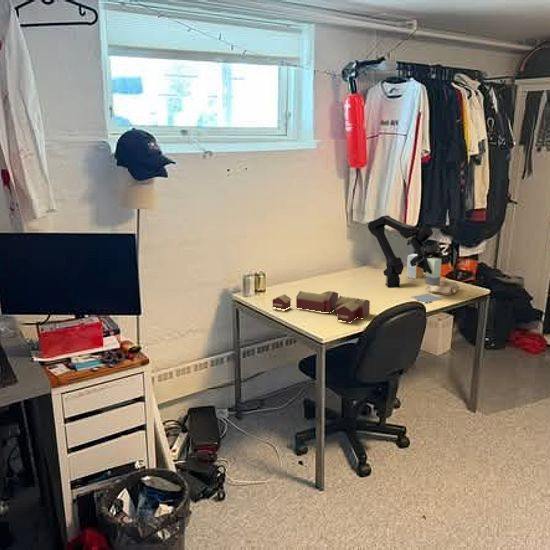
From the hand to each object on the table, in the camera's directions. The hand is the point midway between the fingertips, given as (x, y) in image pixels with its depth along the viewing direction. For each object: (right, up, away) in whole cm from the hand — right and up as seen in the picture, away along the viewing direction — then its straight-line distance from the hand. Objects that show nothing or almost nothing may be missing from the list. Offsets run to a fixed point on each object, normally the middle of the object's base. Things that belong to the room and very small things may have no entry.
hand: (435, 272), depth 268 cm
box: (-1, -6, +3) cm, 6 cm away
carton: (+8, -10, +13) cm, 18 cm away
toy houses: (-59, -19, -12) cm, 63 cm away
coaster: (-4, -13, +3) cm, 14 cm away
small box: (+1, -3, +44) cm, 44 cm away
